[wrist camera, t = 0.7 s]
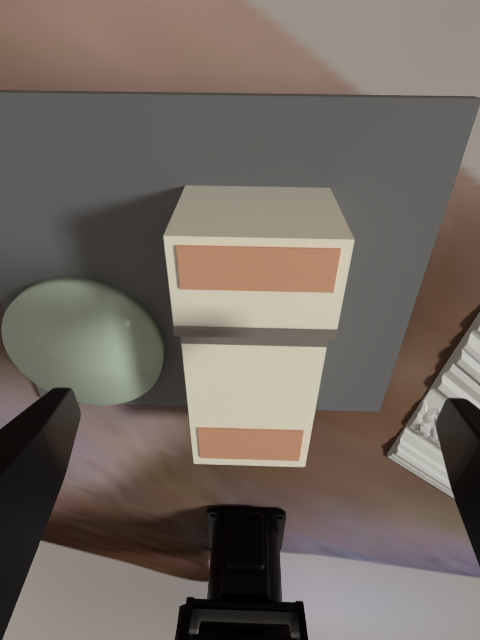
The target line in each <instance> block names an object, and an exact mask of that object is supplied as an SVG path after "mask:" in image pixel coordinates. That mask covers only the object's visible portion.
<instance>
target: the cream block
mask: <svg viewBox="0 0 480 640" xmlns="http://www.w3.org/2000/svg"><path fill="white" fill-rule="evenodd" d="M163 238H164V247H165V256H166V264H167V273H168V282H169V290H170V299H171V308H172V316H173V325H174V326H173V331H174V336H193V337H234V338H275V339H316V340H336V338H337V333H338V331H337V328H338V323H339V318H340V313H341V308H342V303H343V297H344V292H345V287H346V282H347V277H348V272H349V267H350V262H351V257H352V251H353V246H354V241H355V239H354V237H353V235H352V233H351V231H350V229H349V226H348V224H347V222H346V220H345V218H344V216H343V214H342V212H341V210H340V208H339V206H338V204H337V201H336V199H335V197H334V195H333V193H332V191H331V189H330V188H310V187H252V186H193V185H185V188H184V190H183V192H182V194H181V197H180V199H179V201H178V203H177V206H176V208H175V210H174V213H173V215H172V217H171V219H170V222H169V224H168V226H167V228H166V231H165V233H164V235H163Z"/></svg>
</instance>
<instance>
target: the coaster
mask: <svg viewBox="0 0 480 640" xmlns="http://www.w3.org/2000/svg"><path fill="white" fill-rule="evenodd" d="M1 335H2V340H3V344H4V347H5V349H6V351H7V353H8V355H9V357H10V359H11V360H12V361H13V363H14V364H15V366H16V367H17V368H18V369H19V370H20V371H21V372H22V373H23V374H24V375H25V376H26V377H27V378H28V379H30V380H31V381H32V382H34V383H35V384H36V385H38V386H39V387H41V388H43V389H44V390H46V391H48V392H49V391H50V390H51V389H53V388H56V387H66V388H71V389H72V390H73V391H74V393H75V396H76V399H77V402H78V403H82V404H89V405H115V404H121V403H125V402H128V401H131V400H134V399H136V398H138V397H140V396H142V395H143V394H145V393H146V392H147V391H148V390H149V389H151V388H152V386H153V385H154V384H155V383H156V381H157V379H158V377H159V375H160V372H161V369H162V365H163V361H164V356H165V344H164V340H163V336H162V333H161V331H160V328H159V327H158V325H157V323H156V321H155V320H154V319H153V317H152V316H151V315H150V313H149V312H148V311H147V310H146V309H145V308H144V307H143V306H142V305H141V304H140V303H139V302H137V301H136V300H135V299H134V298H132V297H131V296H129V295H128V294H126V293H125V292H123V291H121V290H119V289H117V288H115V287H113V286H111V285H108V284H106V283H103V282H100V281H96V280H93V279H88V278H83V277H72V276H64V277H54V278H48V279H45V280H41V281H38V282H36V283H34V284H32V285H30V286H29V287H27V288H26V289H24V290H23V291H22V292H21V293H20V294H19V295H18V296H17V297H16V299H15V300H14V301H13V302H12V303H11V304H10V305H9V307H8V308H7V310H6V312H5V314H4V317H3V319H2V325H1Z"/></svg>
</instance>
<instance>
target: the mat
mask: <svg viewBox="0 0 480 640" xmlns="http://www.w3.org/2000/svg"><path fill="white" fill-rule="evenodd" d="M479 105H480V98H478V97H475V96H474V97H473V96H401V95H400V96H399V95H323V94H245V93H166V92H88V91H9V90H0V303H1V305H2V307H3V310H4V312H6V310H7V308H8V307H9V305H10V304H11V303H12V302H13V301H14V300H15V299H16V297H17V296H18V295H19V294H20V293H21V292H22V291H23V290H24V289H26V288H27V287H29V286H30V285H32V284H34V283H36V282H38V281H41V280H45V279H48V278H54V277H64V276H72V277H83V278H88V279H93V280H96V281H100V282H103V283H106V284H108V285H111V286H113V287H115V288H117V289H119V290H121V291H123V292H125V293H126V294H128V295H129V296H131V297H132V298H134V299H135V300H136V301H137V302H139V303H140V304H141V305H142V306H143V307H144V308H145V309H146V310H147V311H148V312H149V313H150V315H151V316H152V317H153V319H154V320H155V321H156V323H157V325H158V327H159V328H160V331H161V333H162V336H163V340H164V344H165V356H164V361H163V365H162V369H161V372H160V375H159V377H158V379H157V381H156V383H155V384H154V385H153V386H152V388H151V389H149V390H148V391H147V392H146V393H145V394H143V395H142V396H140V397H138V398H136V399H134V400H131V401H128V402H125V403H121V404H116V405H152V406H188V402H187V393H186V383H185V374H184V364H183V355H182V345H181V341H180V336H174V331H173V326H174V325H173V316H172V308H171V299H170V290H169V282H168V273H167V264H166V256H165V247H164V238H163V235H164V233H165V231H166V228H167V226H168V224H169V222H170V219H171V217H172V215H173V213H174V210H175V208H176V206H177V203H178V201H179V199H180V197H181V194H182V192H183V190H184V188H185V185H193V186H252V187H310V188H330V189H331V191H332V193H333V195H334V197H335V199H336V201H337V204H338V206H339V208H340V210H341V212H342V214H343V216H344V218H345V220H346V222H347V224H348V226H349V229H350V231H351V233H352V235H353V237H354V239H355V241H354V246H353V251H352V257H351V262H350V267H349V272H348V277H347V282H346V287H345V292H344V297H343V303H342V308H341V313H340V318H339V323H338V328H337V331H338V333H337V338H336V340H329V342H328V347H327V349H326V354H325V360H324V365H323V371H322V376H321V382H320V387H319V393H318V398H317V404H316V409H315V410H334V411H370V412H379V411H380V408H381V405H382V402H383V399H384V396H385V393H386V390H387V387H388V384H389V381H390V378H391V375H392V372H393V369H394V366H395V362H396V359H397V356H398V353H399V350H400V347H401V344H402V341H403V338H404V335H405V332H406V329H407V326H408V323H409V320H410V317H411V313H412V310H413V307H414V304H415V301H416V298H417V295H418V292H419V289H420V286H421V283H422V280H423V277H424V274H425V271H426V268H427V265H428V261H429V258H430V255H431V252H432V249H433V246H434V243H435V240H436V237H437V234H438V231H439V228H440V225H441V222H442V219H443V216H444V213H445V209H446V206H447V203H448V200H449V197H450V194H451V191H452V188H453V185H454V182H455V179H456V176H457V173H458V170H459V167H460V164H461V160H462V157H463V154H464V151H465V148H466V145H467V142H468V139H469V136H470V133H471V130H472V127H473V124H474V121H475V118H476V115H477V111H478V108H479ZM35 385H36V384H35ZM36 387H37V390H38V392H39V394H40V397H42V396H43V395H45V394H46V393H47V392H48V391H46V390H44V389H43V388H41V387H39V386H38V385H36ZM80 404H82V403H80Z"/></svg>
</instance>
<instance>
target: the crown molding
mask: <svg viewBox="0 0 480 640" xmlns="http://www.w3.org/2000/svg"><path fill="white" fill-rule="evenodd" d="M448 398H465V399H467V400H469V401H470V402H471V403H473V404H474V405H475V406H477V407H478V408H479V409H480V312H479V313H478V315H477V316H476V318H475V319H474V321H473V322H472V324H471V326H470V327H469V329H468V330H467V332H466V333H465V335H464V336H463V338H462V339H461V341H460V342H459V344H458V346H457V347H456V349H455V350H454V352H453V353H452V355H451V356H450V358H449V359H448V361H447V362H446V364H445V366H444V367H443V369H442V370H441V372H440V373H439V375H438V376H437V378H436V379H435V381H434V382H433V384H432V386H431V387H430V389H429V390H428V392H427V393H426V395H425V396H424V398H423V399H422V401H421V402H420V404H419V406H418V407H417V409H416V410H415V412H414V413H413V415H412V416H411V418H410V419H409V421H408V422H407V424H406V426H405V427H404V429H403V430H402V432H401V433H400V435H399V436H398V438H397V439H396V441H395V442H394V444H393V446H392V447H391V449H390V450H389V452H388V453H387V457H388V458H390V459H392V460H393V461H395V462H396V463H398V464H400V465H401V466H403V467H404V468H406V469H408V470H409V471H411V472H412V473H414V474H416V475H417V476H419V477H420V478H422V479H424V480H425V481H427V482H428V483H430V484H432V485H433V486H435V487H436V488H438V489H440V490H441V491H443V492H444V493H446V494H448V495H449V496H451V497H452V498H454V495H453V493H452V490H451V486H450V482H449V479H448V475H447V471H446V467H445V463H444V459H443V455H442V451H441V447H440V443H439V439H438V435H437V431H436V420H437V417H438V415H439V413H440V411H441V409H442V407H443V404H444V402H445V401H446V400H447V399H448ZM454 499H455V498H454Z"/></svg>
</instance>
